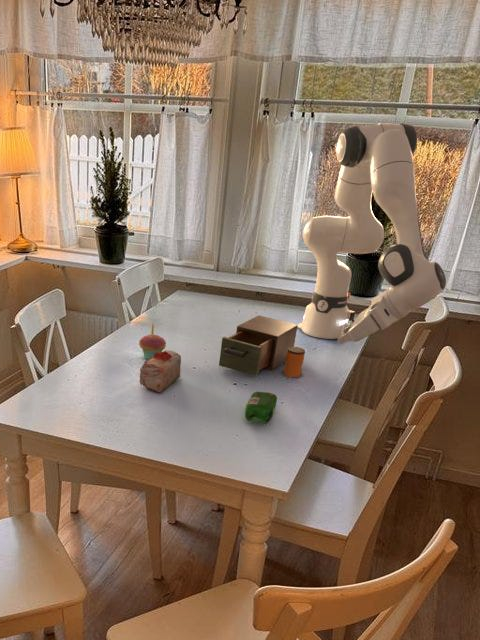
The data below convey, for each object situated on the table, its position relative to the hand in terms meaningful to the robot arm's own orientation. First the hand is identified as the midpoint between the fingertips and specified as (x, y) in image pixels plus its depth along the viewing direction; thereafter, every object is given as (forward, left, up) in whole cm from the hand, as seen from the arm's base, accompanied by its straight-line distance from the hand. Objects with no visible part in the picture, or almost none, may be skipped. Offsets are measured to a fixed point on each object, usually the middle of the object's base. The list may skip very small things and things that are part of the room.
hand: (342, 336), depth 189 cm
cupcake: (+20, -52, -14) cm, 57 cm away
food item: (+36, -38, -14) cm, 54 cm away
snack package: (+36, -6, -14) cm, 39 cm away
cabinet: (-4, -25, -14) cm, 29 cm away
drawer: (+9, -25, -13) cm, 30 cm away
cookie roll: (+2, -12, -14) cm, 19 cm away
